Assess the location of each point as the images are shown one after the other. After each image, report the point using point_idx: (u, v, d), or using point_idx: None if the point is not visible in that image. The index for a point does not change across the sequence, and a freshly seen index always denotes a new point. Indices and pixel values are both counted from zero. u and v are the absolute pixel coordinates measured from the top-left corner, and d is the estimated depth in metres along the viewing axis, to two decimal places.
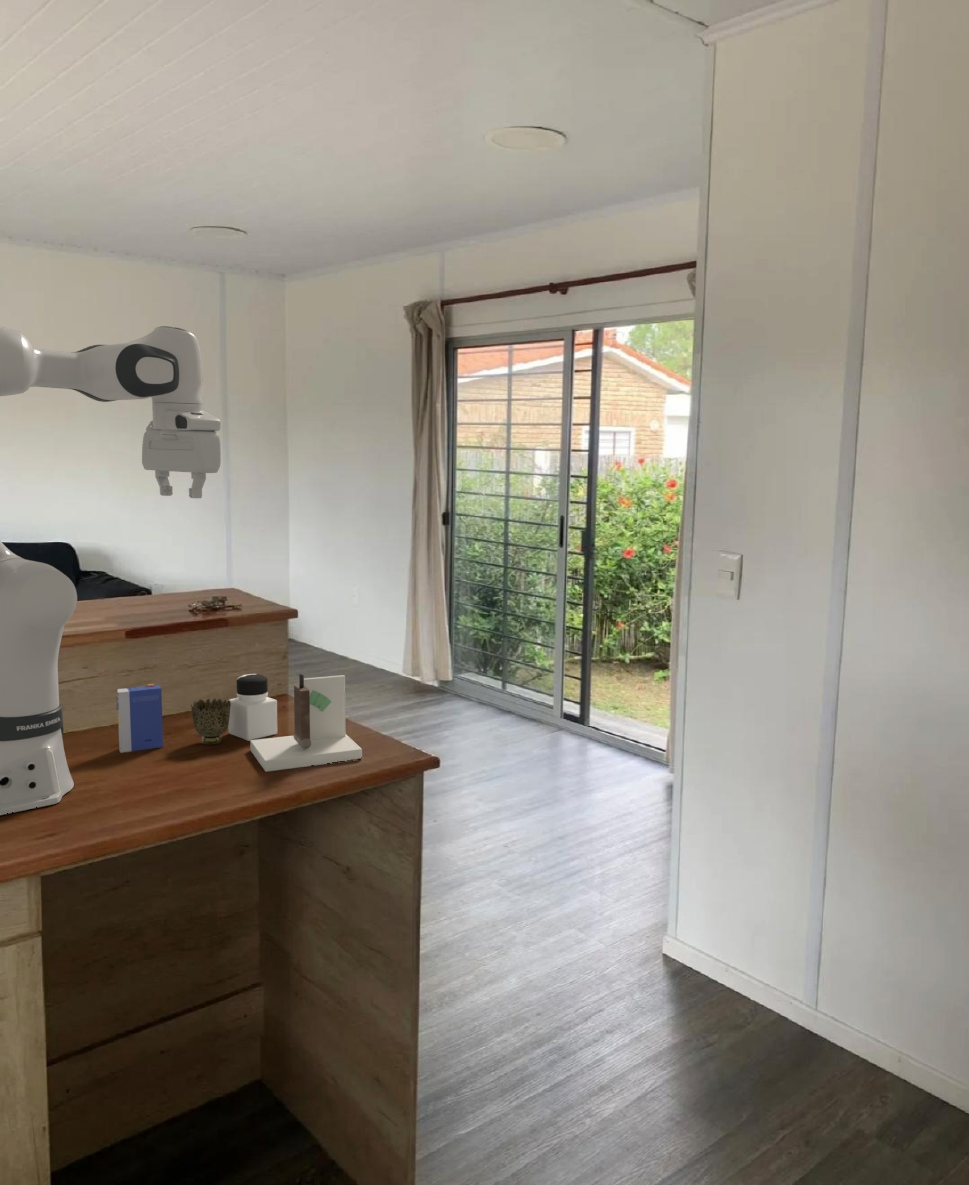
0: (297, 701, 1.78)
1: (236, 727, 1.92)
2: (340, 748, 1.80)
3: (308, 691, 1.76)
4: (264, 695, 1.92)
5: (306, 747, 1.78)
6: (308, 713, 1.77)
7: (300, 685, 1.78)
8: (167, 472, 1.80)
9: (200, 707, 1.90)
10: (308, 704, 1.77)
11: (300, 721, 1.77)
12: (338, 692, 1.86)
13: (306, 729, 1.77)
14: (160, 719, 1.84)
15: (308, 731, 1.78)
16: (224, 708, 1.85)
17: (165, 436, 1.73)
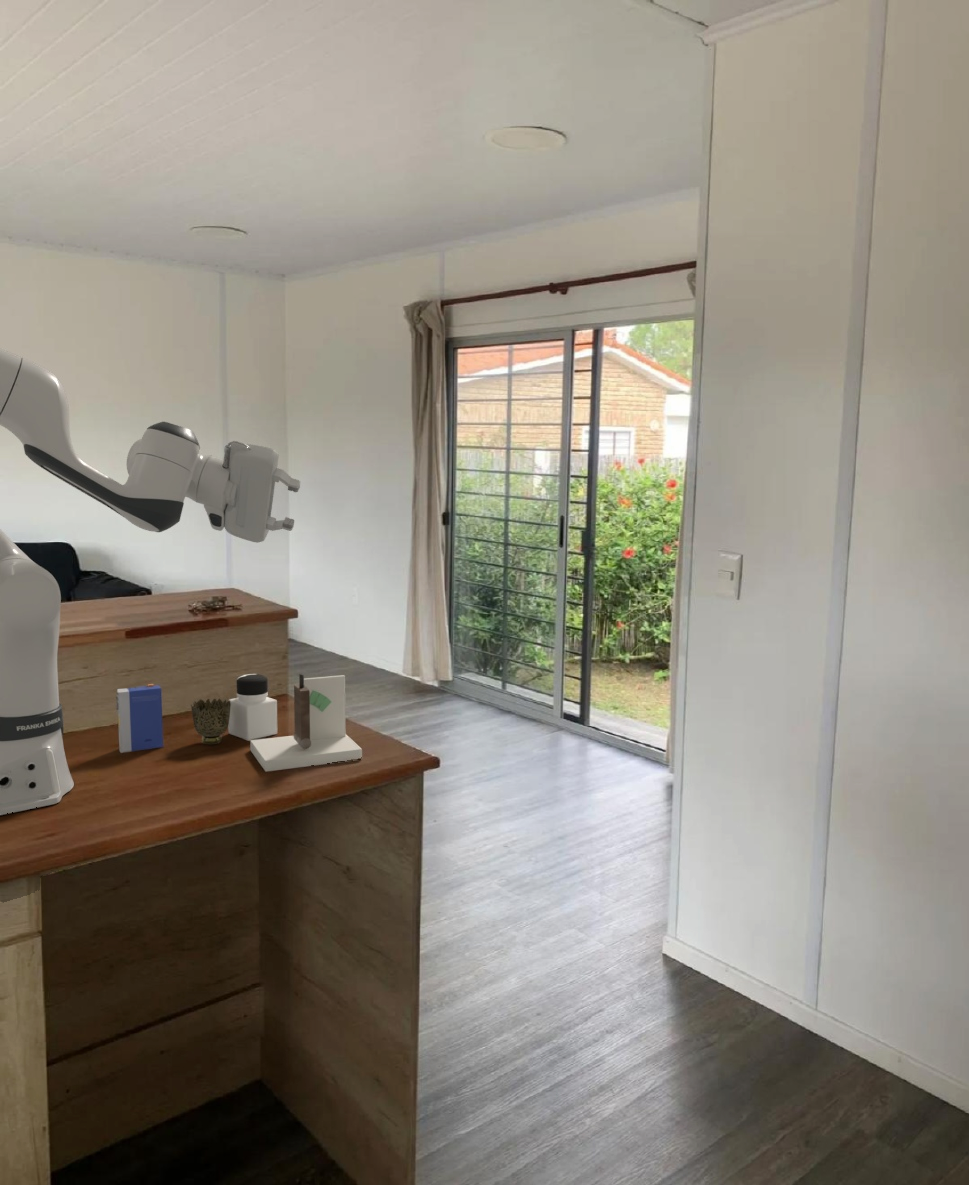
0: (297, 701, 1.78)
1: (236, 727, 1.92)
2: (340, 748, 1.80)
3: (308, 691, 1.76)
4: (264, 695, 1.92)
5: (306, 747, 1.78)
6: (308, 713, 1.77)
7: (300, 685, 1.78)
8: None
9: (200, 707, 1.90)
10: (308, 704, 1.77)
11: (300, 721, 1.77)
12: (338, 692, 1.86)
13: (306, 729, 1.77)
14: (160, 719, 1.84)
15: (308, 731, 1.78)
16: (224, 708, 1.85)
17: None
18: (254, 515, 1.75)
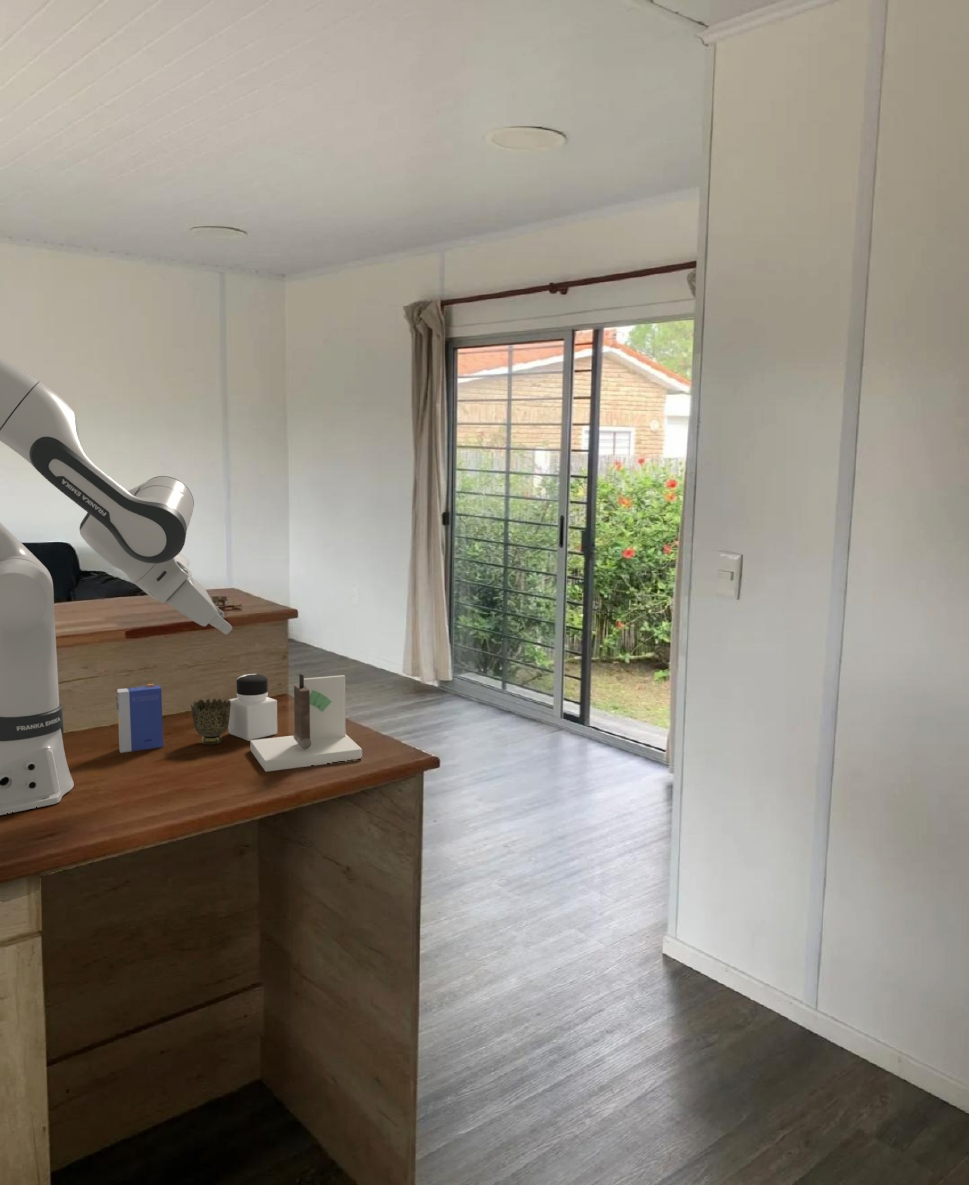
0: (297, 701, 1.78)
1: (236, 727, 1.92)
2: (340, 748, 1.80)
3: (308, 691, 1.76)
4: (264, 695, 1.92)
5: (306, 747, 1.78)
6: (308, 713, 1.77)
7: (300, 685, 1.78)
8: None
9: (200, 707, 1.90)
10: (308, 704, 1.77)
11: (300, 721, 1.77)
12: (338, 692, 1.86)
13: (306, 729, 1.77)
14: (160, 719, 1.84)
15: (308, 731, 1.78)
16: (224, 708, 1.85)
17: None
18: (204, 595, 1.65)
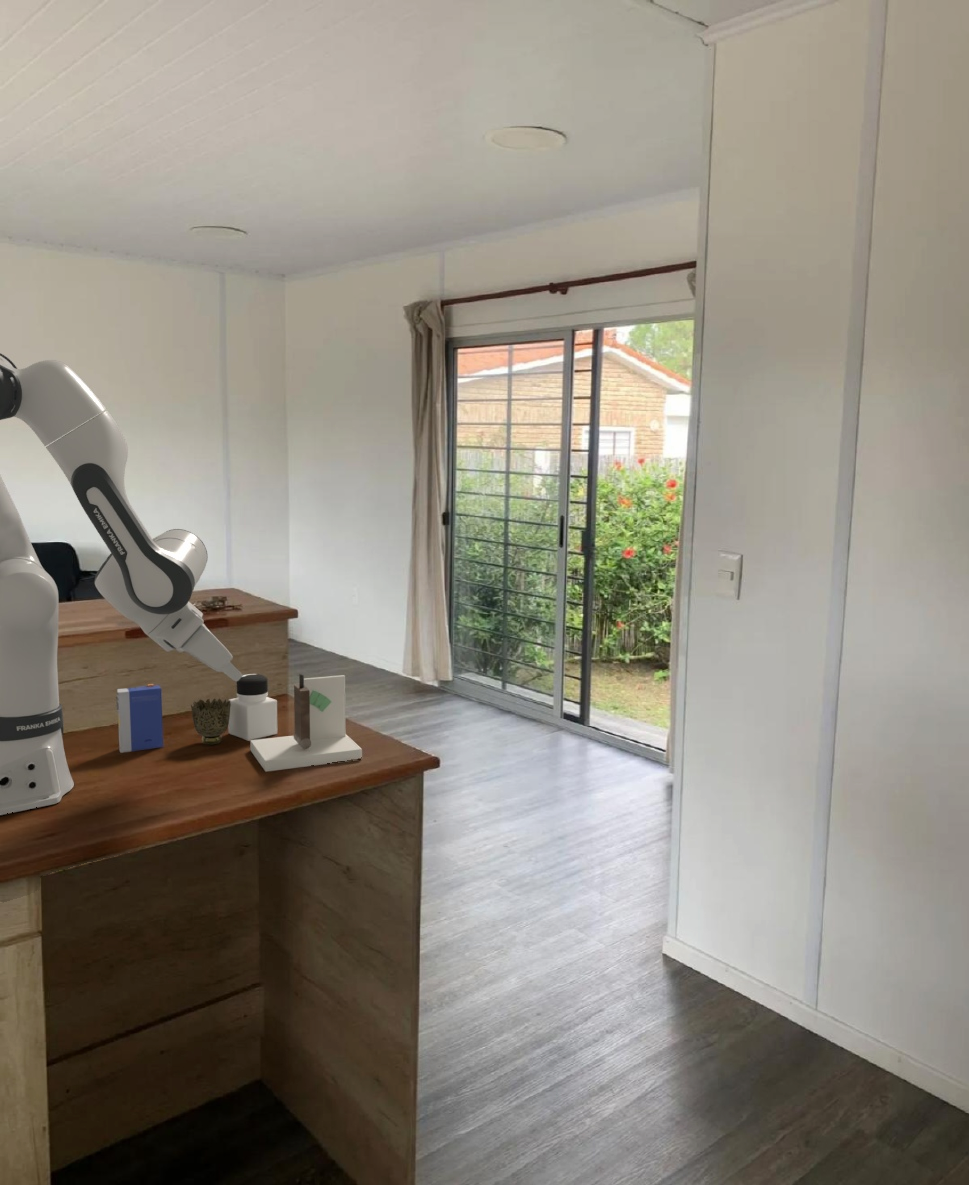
0: (297, 701, 1.78)
1: (236, 727, 1.92)
2: (340, 748, 1.80)
3: (308, 691, 1.76)
4: (264, 695, 1.92)
5: (306, 747, 1.78)
6: (308, 713, 1.77)
7: (300, 685, 1.78)
8: None
9: (200, 707, 1.90)
10: (308, 704, 1.77)
11: (300, 721, 1.77)
12: (338, 692, 1.86)
13: (306, 729, 1.77)
14: (160, 719, 1.84)
15: (308, 731, 1.78)
16: (224, 708, 1.85)
17: (178, 651, 1.66)
18: None
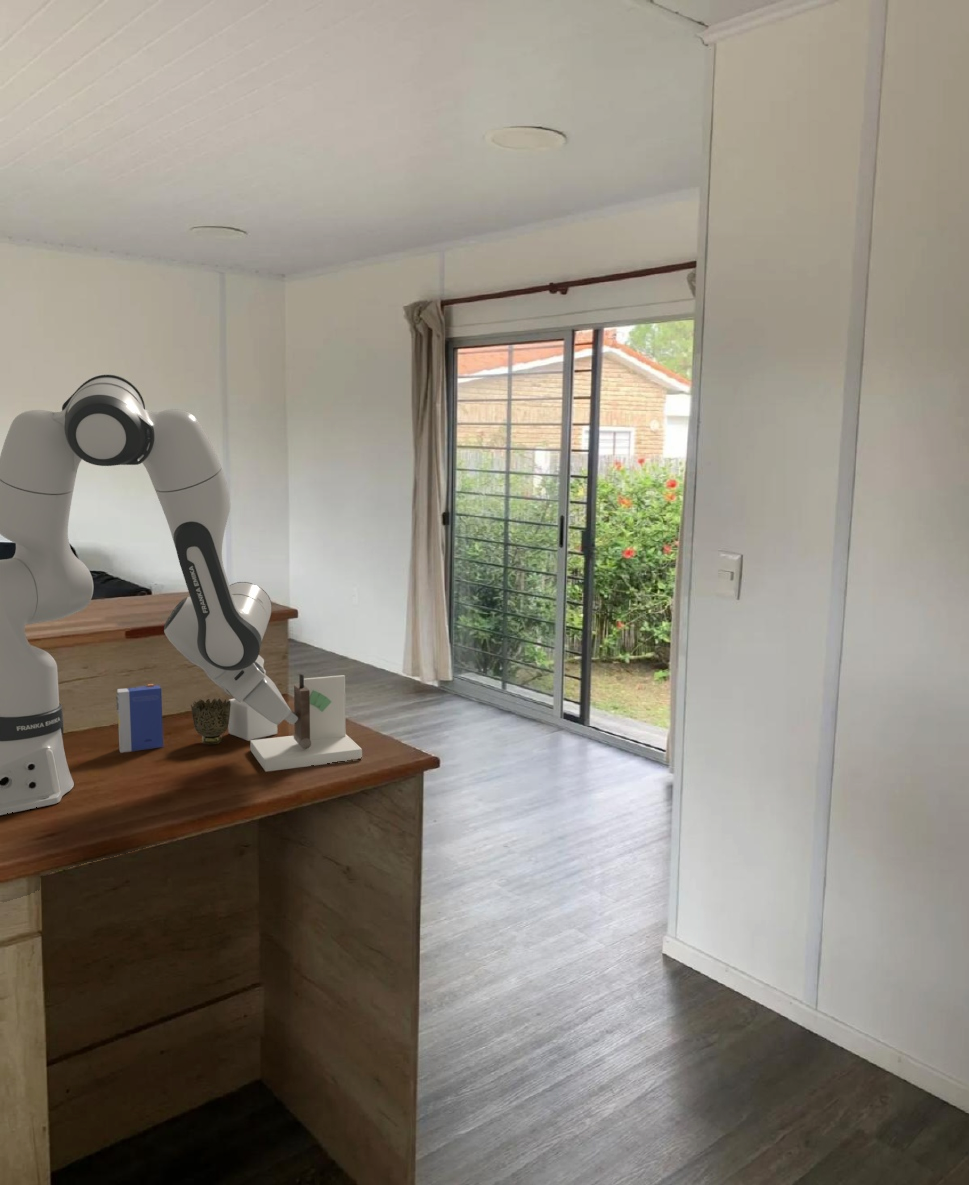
0: (297, 701, 1.78)
1: (236, 727, 1.92)
2: (340, 748, 1.80)
3: (308, 691, 1.76)
4: None
5: (306, 747, 1.78)
6: (308, 713, 1.77)
7: (300, 685, 1.78)
8: None
9: (200, 707, 1.90)
10: (308, 704, 1.77)
11: (300, 721, 1.77)
12: (338, 692, 1.86)
13: (306, 729, 1.77)
14: (160, 719, 1.84)
15: (308, 731, 1.78)
16: (224, 708, 1.85)
17: None
18: (277, 693, 1.73)
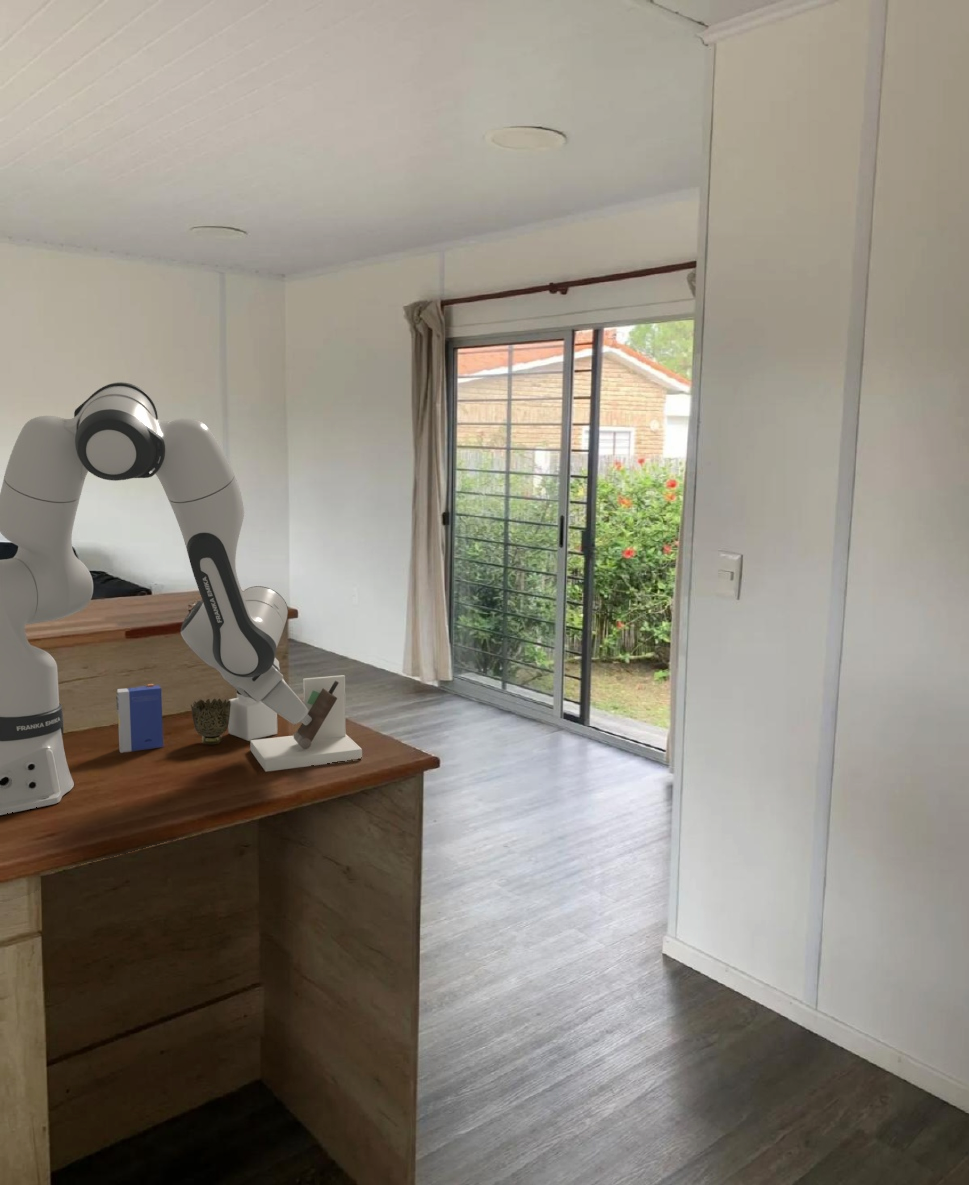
0: (319, 703, 1.80)
1: (236, 727, 1.92)
2: (340, 748, 1.80)
3: (336, 698, 1.79)
4: None
5: (304, 747, 1.78)
6: (324, 718, 1.78)
7: (330, 690, 1.81)
8: None
9: (200, 707, 1.90)
10: (329, 710, 1.79)
11: (313, 721, 1.78)
12: (338, 692, 1.86)
13: (314, 731, 1.78)
14: (160, 719, 1.84)
15: (314, 734, 1.78)
16: (224, 708, 1.85)
17: None
18: None
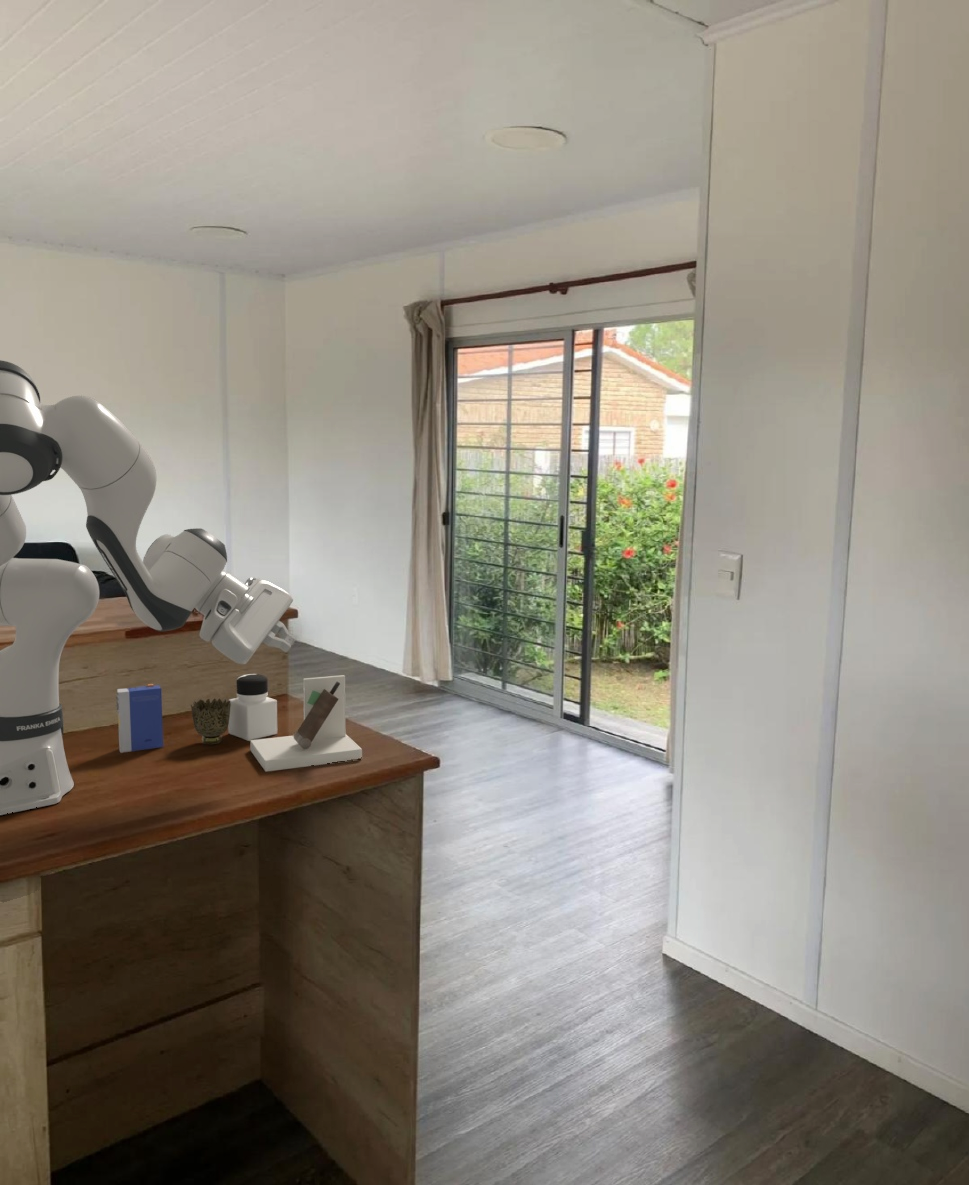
0: (320, 703, 1.80)
1: (236, 727, 1.92)
2: (340, 748, 1.80)
3: (337, 699, 1.79)
4: (264, 695, 1.92)
5: (304, 747, 1.78)
6: (324, 718, 1.79)
7: (331, 691, 1.81)
8: (276, 626, 1.76)
9: (200, 707, 1.90)
10: (330, 710, 1.79)
11: (313, 721, 1.78)
12: (338, 692, 1.86)
13: (314, 731, 1.78)
14: (160, 719, 1.84)
15: (314, 734, 1.78)
16: (224, 708, 1.85)
17: None
18: (256, 627, 1.71)
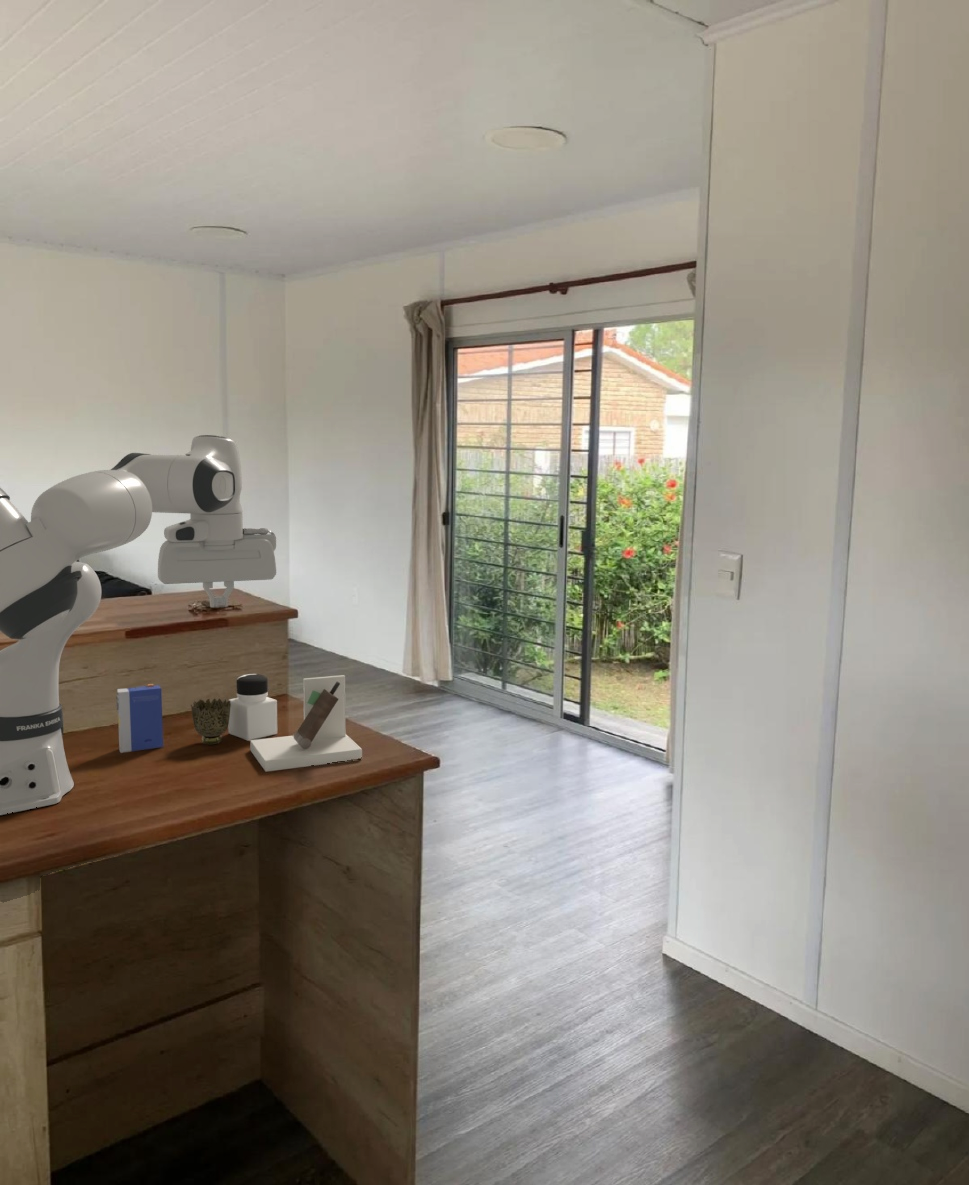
0: (320, 703, 1.80)
1: (236, 727, 1.92)
2: (340, 748, 1.80)
3: (337, 699, 1.79)
4: (264, 695, 1.92)
5: (304, 747, 1.78)
6: (324, 718, 1.79)
7: (331, 691, 1.81)
8: (225, 583, 1.71)
9: (200, 707, 1.90)
10: (330, 710, 1.79)
11: (313, 721, 1.78)
12: (338, 692, 1.86)
13: (314, 731, 1.78)
14: (160, 719, 1.84)
15: (314, 734, 1.78)
16: (224, 708, 1.85)
17: None
18: (199, 570, 1.68)
